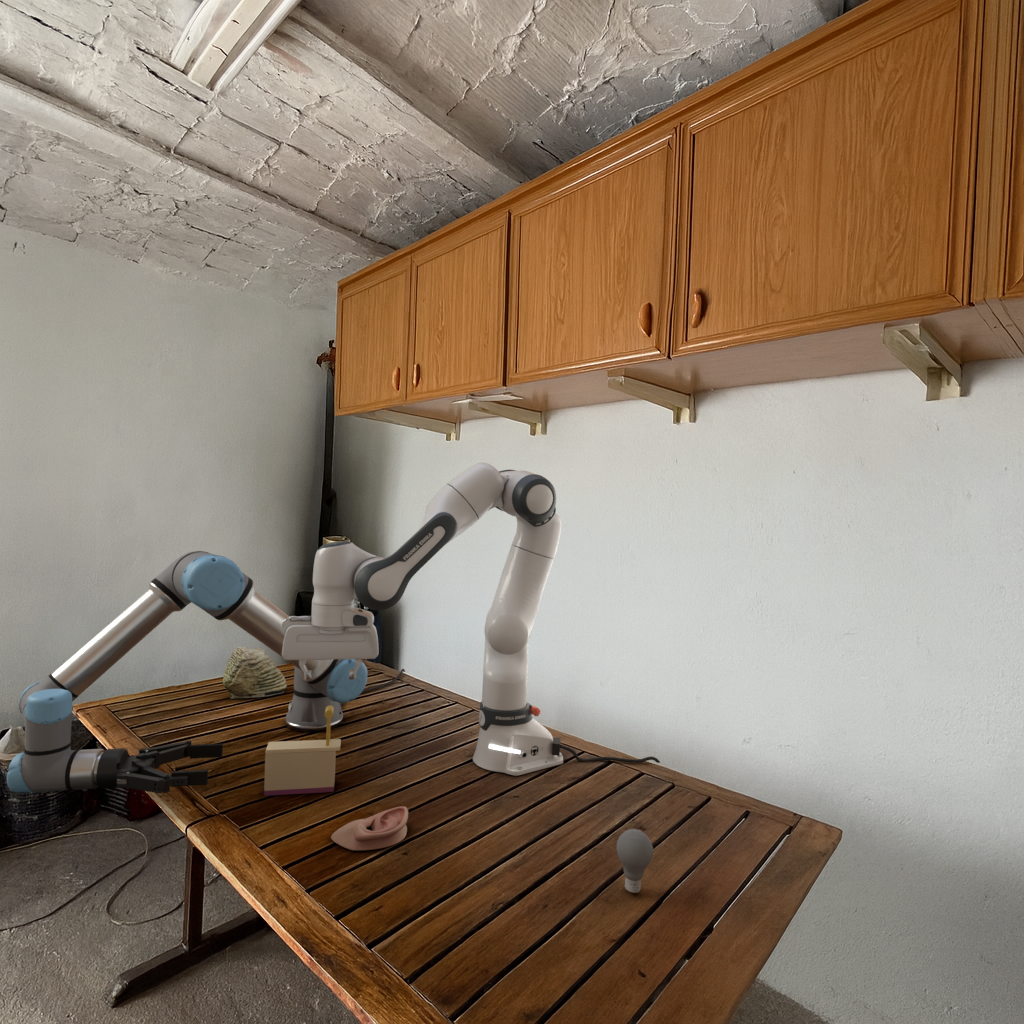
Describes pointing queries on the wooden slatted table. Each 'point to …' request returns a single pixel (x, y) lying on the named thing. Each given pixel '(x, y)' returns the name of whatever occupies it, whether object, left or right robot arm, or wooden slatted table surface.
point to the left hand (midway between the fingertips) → (215, 763)
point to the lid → (308, 741)
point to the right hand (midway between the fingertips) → (330, 679)
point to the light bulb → (634, 857)
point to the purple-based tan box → (299, 773)
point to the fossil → (252, 674)
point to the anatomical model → (374, 830)
